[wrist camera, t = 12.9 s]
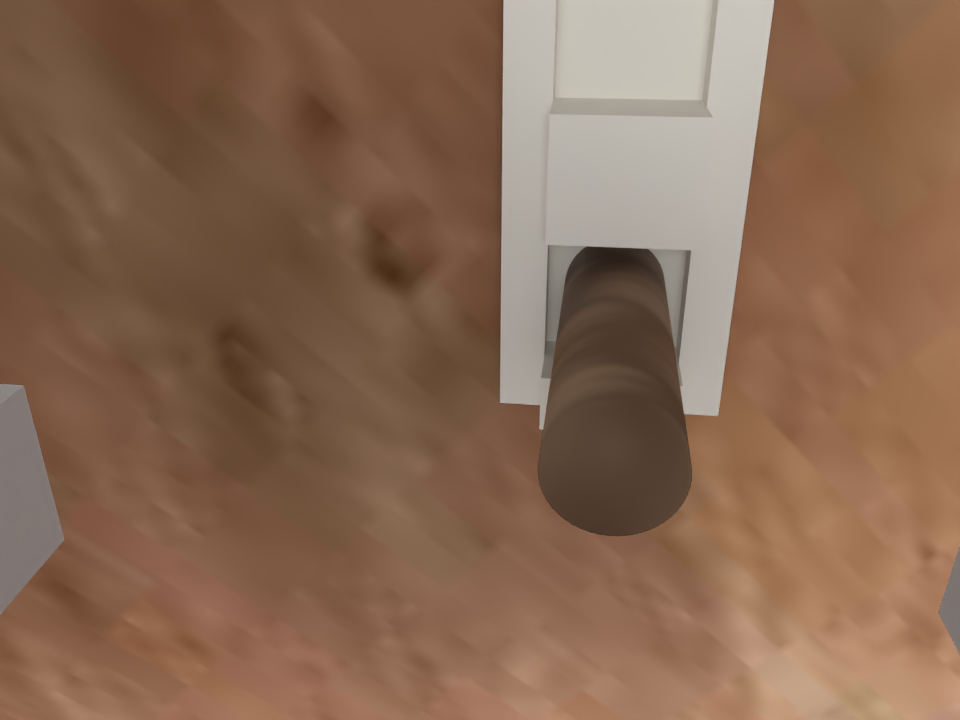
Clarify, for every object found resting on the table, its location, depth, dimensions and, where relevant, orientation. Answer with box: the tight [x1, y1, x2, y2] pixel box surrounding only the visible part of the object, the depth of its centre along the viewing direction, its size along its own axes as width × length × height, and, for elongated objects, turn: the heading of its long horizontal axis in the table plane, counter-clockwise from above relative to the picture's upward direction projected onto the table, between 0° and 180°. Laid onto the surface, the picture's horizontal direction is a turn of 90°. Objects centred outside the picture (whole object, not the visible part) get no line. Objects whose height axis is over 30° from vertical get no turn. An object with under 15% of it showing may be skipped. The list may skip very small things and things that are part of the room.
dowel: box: [538, 246, 692, 536], centre depth 29 cm, size 4×4×14 cm
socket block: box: [500, 0, 774, 430], centre depth 32 cm, size 9×20×5 cm, turn 0°
